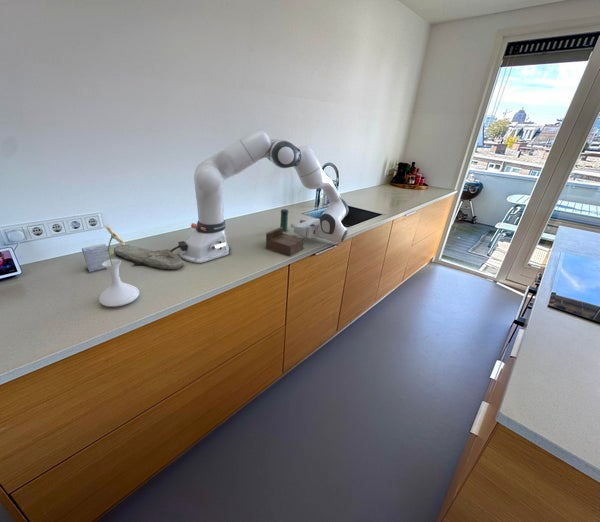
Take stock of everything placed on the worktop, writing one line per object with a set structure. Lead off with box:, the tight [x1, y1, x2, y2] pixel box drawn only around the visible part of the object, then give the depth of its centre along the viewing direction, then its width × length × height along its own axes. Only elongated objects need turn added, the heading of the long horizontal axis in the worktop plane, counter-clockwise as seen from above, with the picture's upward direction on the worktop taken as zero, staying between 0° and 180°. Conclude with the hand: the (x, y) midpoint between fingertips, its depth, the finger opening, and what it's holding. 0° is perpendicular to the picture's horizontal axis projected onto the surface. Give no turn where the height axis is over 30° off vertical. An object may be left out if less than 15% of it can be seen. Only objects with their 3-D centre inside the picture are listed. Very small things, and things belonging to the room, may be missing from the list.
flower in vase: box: [98, 224, 140, 308], centre depth 90 cm, size 13×11×25 cm
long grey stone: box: [113, 244, 184, 270], centre depth 120 cm, size 35×5×10 cm
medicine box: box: [81, 243, 110, 273], centre depth 111 cm, size 8×4×9 cm, turn 134°
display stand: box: [265, 226, 304, 257], centre depth 140 cm, size 12×14×8 cm
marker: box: [279, 208, 289, 233], centre depth 163 cm, size 4×4×12 cm
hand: (295, 223), depth 159 cm, fingers open, 8 cm apart
